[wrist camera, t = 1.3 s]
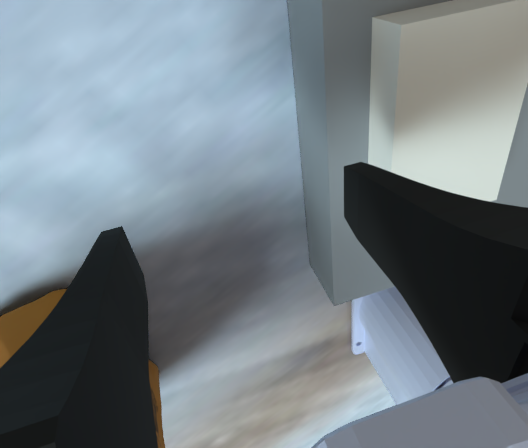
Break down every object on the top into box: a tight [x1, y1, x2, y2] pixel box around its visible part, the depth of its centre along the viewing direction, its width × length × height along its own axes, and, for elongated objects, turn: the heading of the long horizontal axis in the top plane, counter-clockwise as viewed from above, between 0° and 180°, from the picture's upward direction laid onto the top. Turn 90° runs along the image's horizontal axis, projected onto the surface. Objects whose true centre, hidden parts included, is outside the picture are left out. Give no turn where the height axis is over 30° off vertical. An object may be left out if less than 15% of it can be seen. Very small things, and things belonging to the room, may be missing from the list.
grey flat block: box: [287, 0, 528, 306], centre depth 20 cm, size 22×14×4 cm, turn 8°
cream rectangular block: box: [368, 0, 528, 202], centre depth 17 cm, size 9×6×2 cm, turn 8°
